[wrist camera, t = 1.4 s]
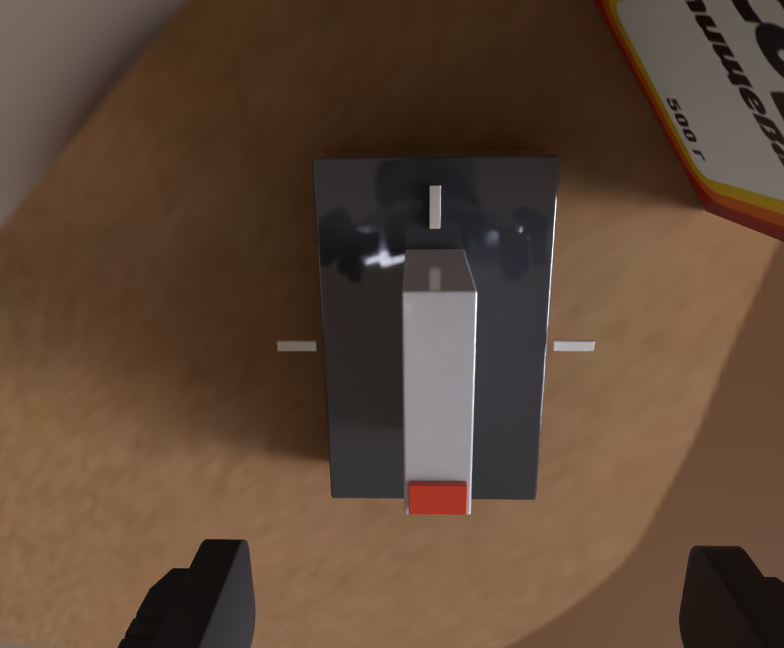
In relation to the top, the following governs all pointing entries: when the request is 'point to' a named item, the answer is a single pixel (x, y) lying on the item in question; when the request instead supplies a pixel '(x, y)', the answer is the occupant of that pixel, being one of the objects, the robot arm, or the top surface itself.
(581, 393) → the top surface
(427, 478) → the white rectangular block
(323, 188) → the rotary selector switch
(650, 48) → the baking soda box
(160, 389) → the top surface
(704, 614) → the robot arm
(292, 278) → the top surface
